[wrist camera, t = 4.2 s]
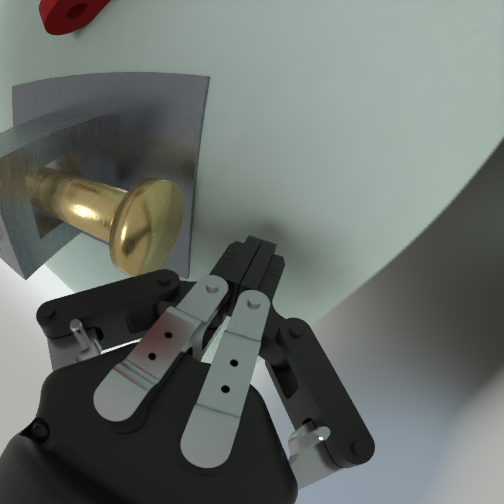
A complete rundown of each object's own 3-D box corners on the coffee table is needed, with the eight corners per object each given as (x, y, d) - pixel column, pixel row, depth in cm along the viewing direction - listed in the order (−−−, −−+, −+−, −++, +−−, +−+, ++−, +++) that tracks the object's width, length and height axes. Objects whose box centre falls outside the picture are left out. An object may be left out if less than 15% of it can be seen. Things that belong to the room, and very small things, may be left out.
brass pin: (48, 138, 17) (-5, 164, 12) (186, 167, 15) (122, 211, 10) (55, 195, 20) (10, 226, 16) (181, 244, 18) (134, 300, 14)
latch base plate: (14, 86, 17) (-69, 123, 7) (209, 76, 13) (16, 111, 4) (27, 203, 26) (-36, 252, 17) (188, 277, 23) (110, 389, 14)
